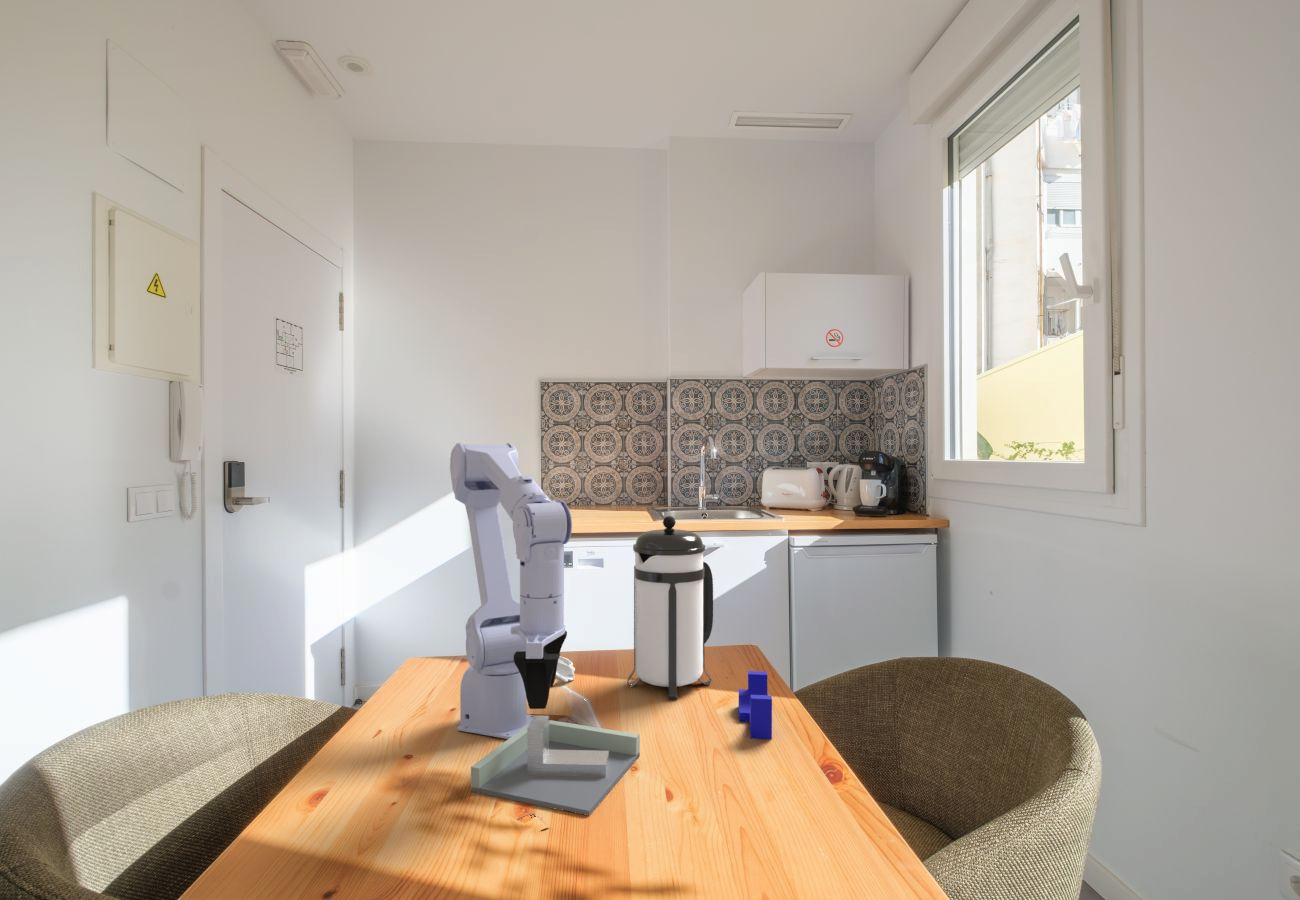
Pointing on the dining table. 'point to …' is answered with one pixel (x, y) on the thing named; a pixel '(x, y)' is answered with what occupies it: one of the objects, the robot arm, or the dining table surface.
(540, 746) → the brushed metal block
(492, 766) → the corner tray
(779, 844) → the dining table surface
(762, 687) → the cable clip
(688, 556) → the coffee press
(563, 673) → the whipped cream
